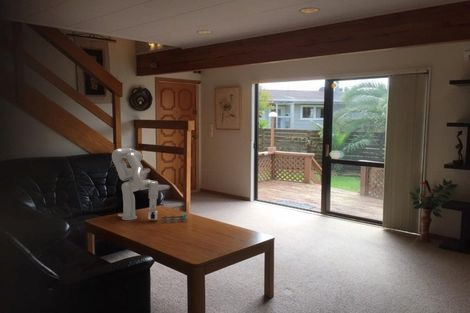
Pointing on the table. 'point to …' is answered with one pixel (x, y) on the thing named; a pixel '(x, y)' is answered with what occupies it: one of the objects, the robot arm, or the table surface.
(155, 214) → the cream block
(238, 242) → the table surface
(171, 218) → the channel board
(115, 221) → the table surface
